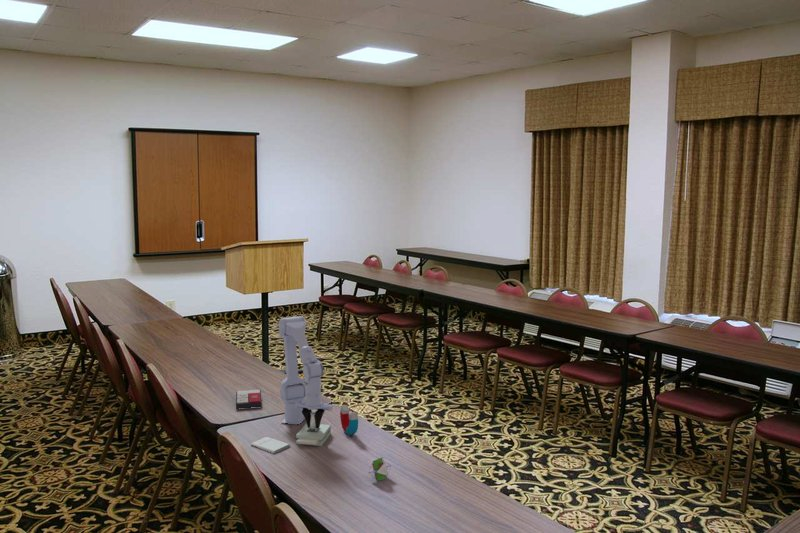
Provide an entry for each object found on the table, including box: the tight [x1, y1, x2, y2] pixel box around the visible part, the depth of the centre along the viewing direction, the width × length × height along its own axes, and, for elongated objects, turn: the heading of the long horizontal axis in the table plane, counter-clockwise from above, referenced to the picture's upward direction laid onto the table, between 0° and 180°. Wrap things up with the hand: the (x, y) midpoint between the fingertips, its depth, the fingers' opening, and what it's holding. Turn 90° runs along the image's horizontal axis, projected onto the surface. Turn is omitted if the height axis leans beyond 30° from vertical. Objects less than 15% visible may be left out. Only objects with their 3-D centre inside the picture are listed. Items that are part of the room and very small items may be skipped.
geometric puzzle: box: [368, 457, 392, 482], centre depth 209 cm, size 7×7×8 cm
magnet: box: [339, 404, 359, 436], centre depth 247 cm, size 12×3×10 cm, turn 29°
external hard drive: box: [250, 436, 291, 454], centre depth 235 cm, size 2×8×12 cm
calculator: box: [235, 389, 263, 410], centre depth 280 cm, size 11×4×15 cm
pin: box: [310, 410, 318, 433], centre depth 241 cm, size 3×3×9 cm
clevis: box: [295, 422, 332, 447], centre depth 241 cm, size 14×10×4 cm
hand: (313, 427), depth 241 cm, fingers closed on pin, 3 cm apart
